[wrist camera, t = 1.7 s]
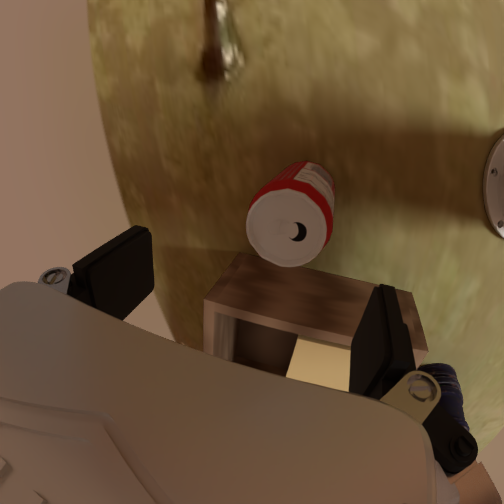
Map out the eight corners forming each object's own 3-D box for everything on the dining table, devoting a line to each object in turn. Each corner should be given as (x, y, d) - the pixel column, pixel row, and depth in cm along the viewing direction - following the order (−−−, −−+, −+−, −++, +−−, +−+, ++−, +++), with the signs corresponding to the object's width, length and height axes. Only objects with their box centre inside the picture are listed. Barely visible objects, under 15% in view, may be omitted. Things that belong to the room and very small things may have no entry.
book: (410, 353, 22) (411, 362, 21) (356, 428, 28) (355, 436, 27) (299, 330, 24) (297, 339, 23) (273, 412, 30) (271, 420, 29)
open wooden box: (411, 292, 28) (428, 351, 20) (361, 387, 36) (358, 442, 28) (239, 252, 32) (203, 299, 24) (229, 355, 40) (204, 404, 32)
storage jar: (459, 355, 29) (482, 446, 16) (453, 395, 32) (465, 474, 19) (394, 371, 33) (397, 467, 20) (396, 409, 36) (395, 490, 23)
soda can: (273, 205, 29) (231, 256, 18) (286, 153, 26) (249, 174, 16) (325, 222, 28) (314, 285, 18) (342, 170, 25) (345, 203, 15)
